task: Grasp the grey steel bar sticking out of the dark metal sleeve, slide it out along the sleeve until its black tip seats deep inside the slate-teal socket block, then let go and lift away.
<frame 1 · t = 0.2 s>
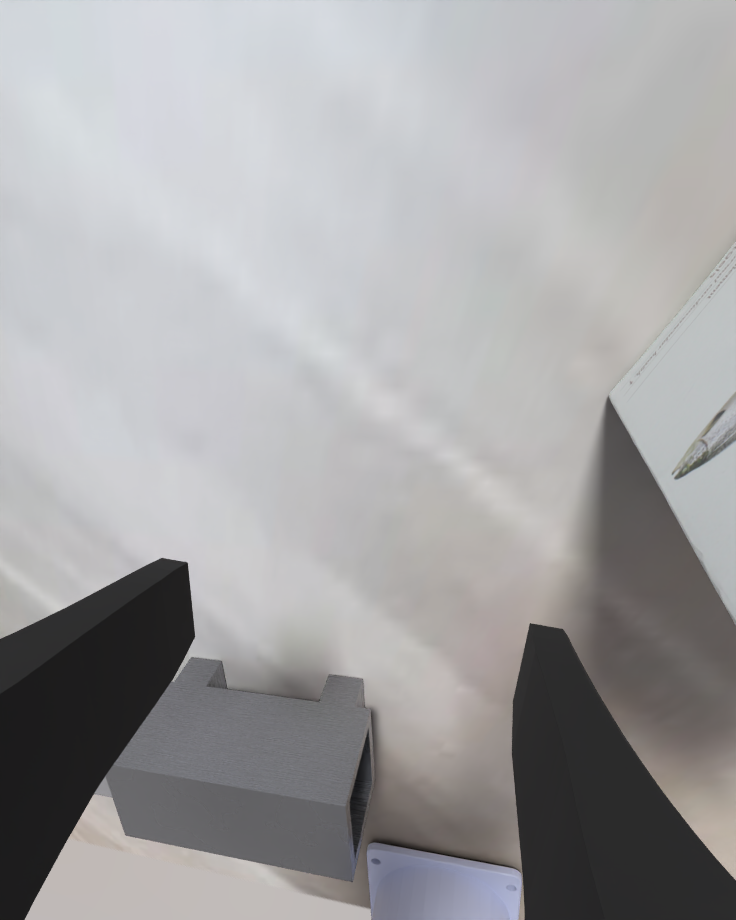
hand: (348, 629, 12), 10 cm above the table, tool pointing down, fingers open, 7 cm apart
extension bar: (143, 754, 25), point 4 cm above the table, slide at 0.0 cm
sleeve: (279, 702, 27), on the table
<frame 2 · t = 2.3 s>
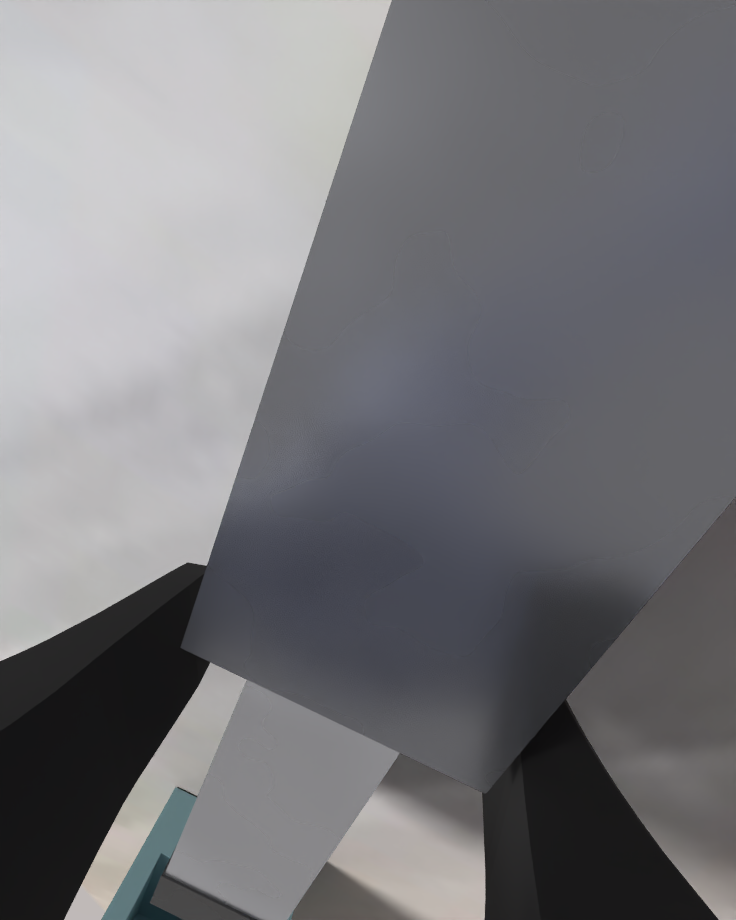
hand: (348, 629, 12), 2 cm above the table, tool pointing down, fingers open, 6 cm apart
extension bar: (367, 612, 9), point 4 cm above the table, slide at 0.0 cm
socket: (224, 857, 20), on the table
sleeve: (508, 295, 10), on the table
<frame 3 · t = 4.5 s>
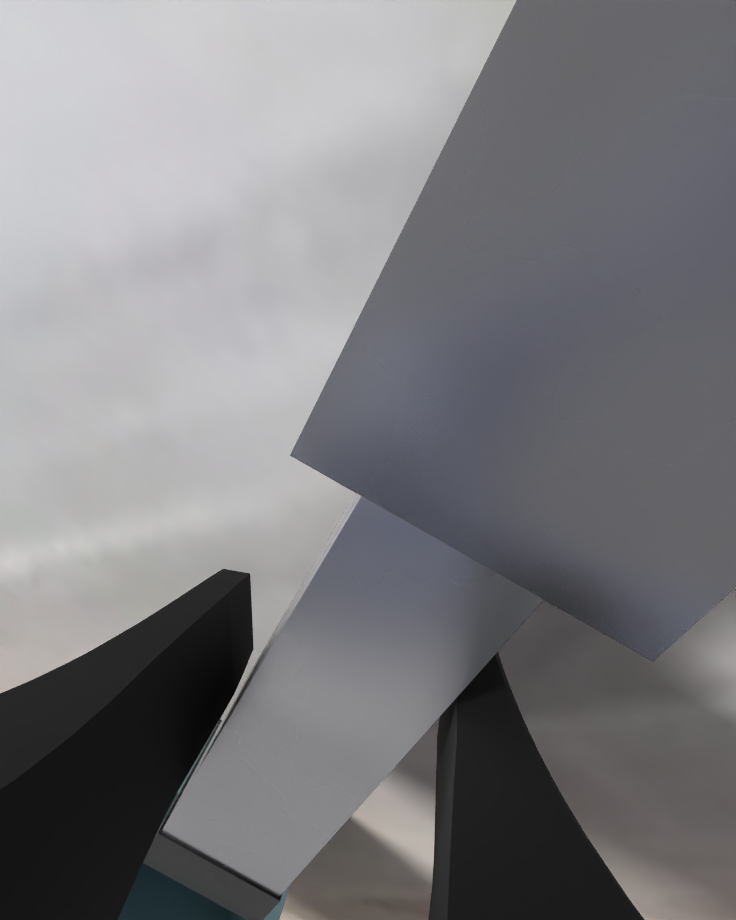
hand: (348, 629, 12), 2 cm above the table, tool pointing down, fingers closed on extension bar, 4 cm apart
extension bar: (412, 566, 9), point 4 cm above the table, slide at 1.9 cm, touching gripper
socket: (220, 795, 18), on the table
sleeve: (654, 135, 9), on the table
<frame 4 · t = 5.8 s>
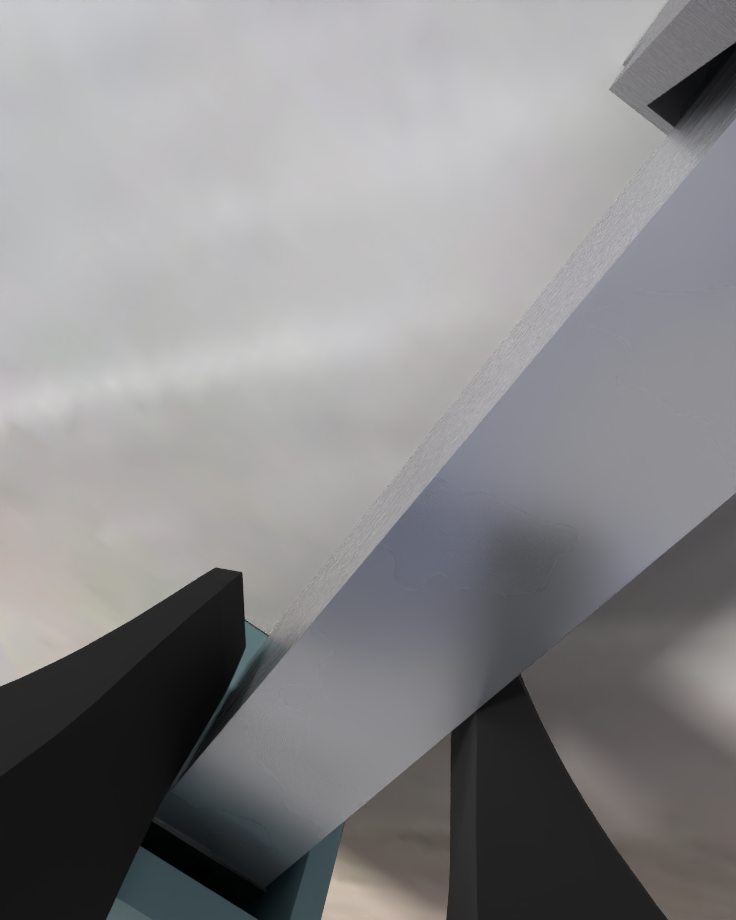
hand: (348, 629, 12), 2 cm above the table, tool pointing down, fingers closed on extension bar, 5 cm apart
extension bar: (443, 570, 9), point 4 cm above the table, slide at 6.4 cm, touching gripper
socket: (255, 705, 16), on the table
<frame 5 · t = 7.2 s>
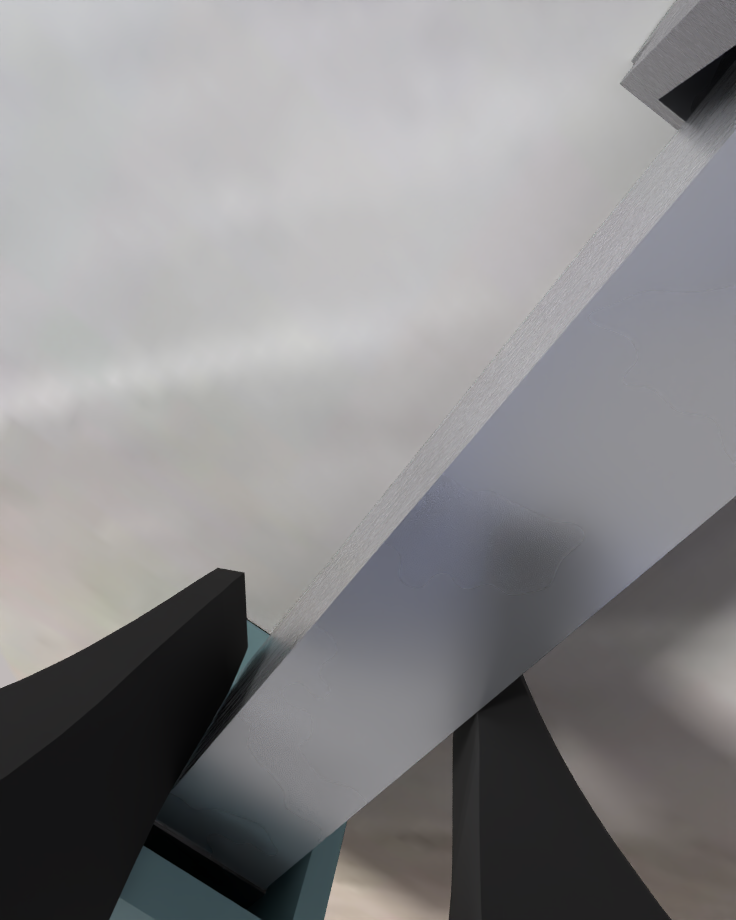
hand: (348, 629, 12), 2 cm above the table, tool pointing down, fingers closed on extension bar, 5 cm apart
extension bar: (446, 569, 9), point 4 cm above the table, slide at 6.5 cm, touching gripper
socket: (255, 704, 16), on the table
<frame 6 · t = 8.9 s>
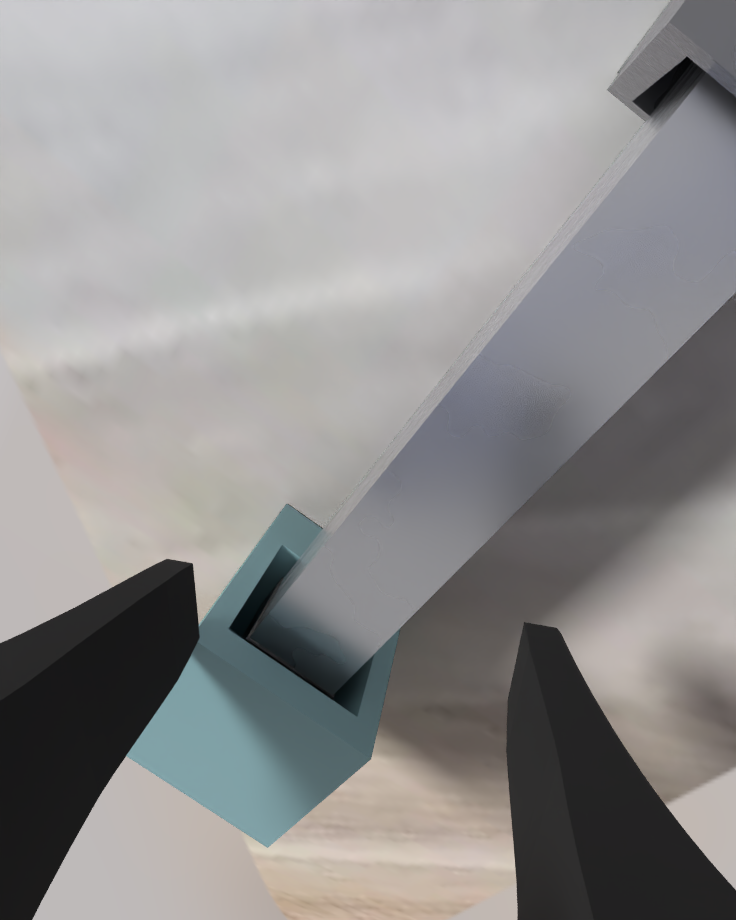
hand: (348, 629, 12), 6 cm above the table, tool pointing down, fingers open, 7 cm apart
extension bar: (475, 440, 12), point 4 cm above the table, slide at 6.7 cm
socket: (310, 592, 20), on the table
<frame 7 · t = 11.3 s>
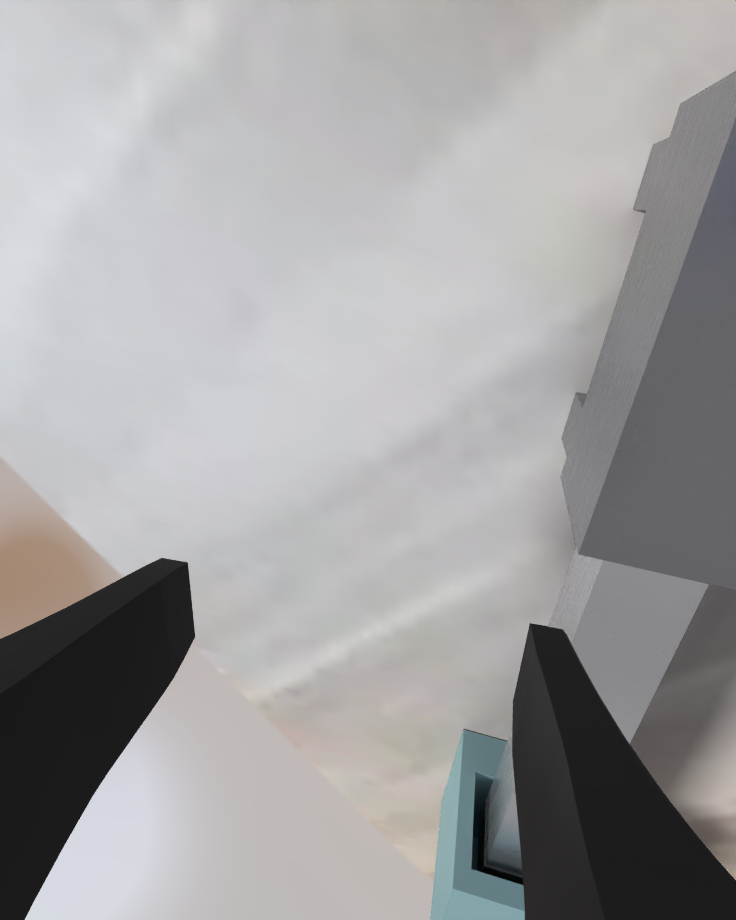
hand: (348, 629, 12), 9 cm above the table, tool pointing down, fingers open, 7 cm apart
extension bar: (577, 703, 18), point 4 cm above the table, slide at 6.7 cm
socket: (506, 782, 26), on the table
sleeve: (679, 320, 17), on the table
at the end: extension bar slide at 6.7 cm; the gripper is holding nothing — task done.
